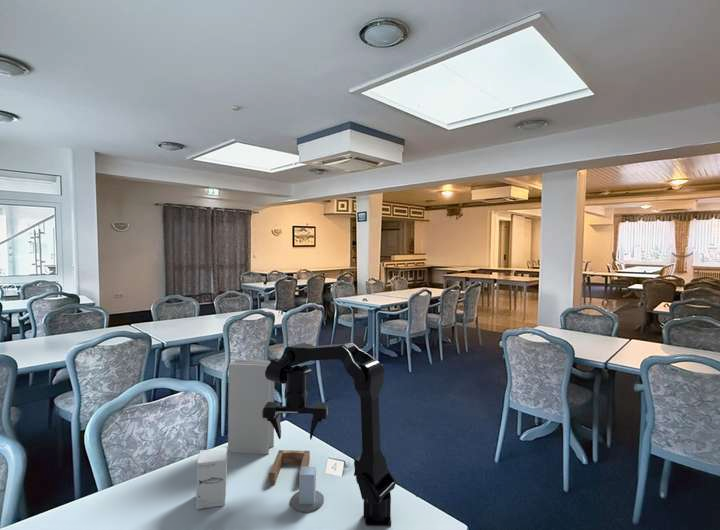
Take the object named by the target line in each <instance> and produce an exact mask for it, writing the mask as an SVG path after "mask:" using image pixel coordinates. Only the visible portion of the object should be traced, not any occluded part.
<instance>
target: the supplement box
mask: <svg viewBox="0 0 720 530" xmlns="http://www.w3.org/2000/svg"><path fill="white" fill-rule="evenodd" d="M227 464H228V447H220V448H219V447H218V448H212V449H211V448H210V449H202V450H199V453H198V457H197V463H196V498H195V499H196V500H195V501H196V505H195V506H196V507H195V510H197V511H198V510H201V509H208V508H215V507H223V506H225V504H226V496H227V472H228V471H227V469H228V468H227Z"/></svg>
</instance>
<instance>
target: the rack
mask: <svg viewBox="0 0 720 530" xmlns="http://www.w3.org/2000/svg"><path fill="white" fill-rule="evenodd" d="M310 452H311V451H310V450H285V449H283V450H281V449H279V450H278V452H277V454H276V457H275V459H274V461H273V464H272V466H271V469H270V471H269V485H271V486H273V485H276V482H277V479H278V477H279V474H280V472H281V468H282V466H283V464H289V465H290V464H295V465H297V464H298V465H299V464H300V468H299V471H298V475H299V474H300V470H301V467H302V466H307V467H310V466H309V465H310V459H311V458H310V454H311V453H310Z"/></svg>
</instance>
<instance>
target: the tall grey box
mask: <svg viewBox="0 0 720 530" xmlns="http://www.w3.org/2000/svg"><path fill="white" fill-rule="evenodd" d="M269 364H270V360H257V359H256V360H255V359H253V360H252V359H234V363H228V388H227V389H228V392H227V393H228V396H227V397H228V398H227V400H228V403H227V404H228V408H227V410H228V411H227V412H228V413H227V416H228V417H227V418H228V419H227V420H228V421H227V423H228V424H227V425H228V426H227V452H231V453H242V454H243V453H245V454H257V455H258V454H260V455H269V454H270V453H269V451H270V448H273V447H275V446H274V445H275V429H274V427H273V425H272V424H271V422H270V421H267V418H263V417H262V411H263V408H264V406H265V405H266V403H267V402H275V382H274V381H271V380H268V379H267V378H266V376H265V371H266V368H267V366H268V365H269Z"/></svg>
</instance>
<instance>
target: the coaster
mask: <svg viewBox="0 0 720 530" xmlns="http://www.w3.org/2000/svg"><path fill="white" fill-rule="evenodd" d="M324 502H325V498H324V495H323V494H322V493H321V492H320V491H319V490H316V495H315V501H314V504H299V491H296V492H295V493H294V494H293V495H292V496H291V497H290V506H291V508H292V509H293V510H294V511H297V512H300V513H313V512H316V511H317V510H318V509H321V507H322V506H323V505H324Z"/></svg>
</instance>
